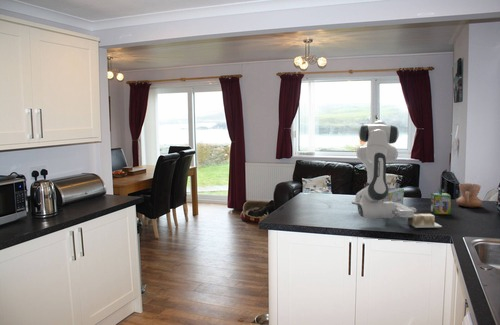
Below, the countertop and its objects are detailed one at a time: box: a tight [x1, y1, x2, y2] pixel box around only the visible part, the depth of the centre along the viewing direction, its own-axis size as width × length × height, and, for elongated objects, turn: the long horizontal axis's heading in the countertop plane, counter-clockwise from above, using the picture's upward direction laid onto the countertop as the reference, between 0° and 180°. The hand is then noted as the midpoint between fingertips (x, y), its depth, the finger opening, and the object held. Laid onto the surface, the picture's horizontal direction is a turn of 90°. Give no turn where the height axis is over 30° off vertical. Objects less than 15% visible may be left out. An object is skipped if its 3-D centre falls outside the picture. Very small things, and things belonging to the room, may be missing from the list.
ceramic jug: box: [456, 182, 483, 209], centre depth 257 cm, size 18×14×14 cm
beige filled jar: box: [407, 213, 436, 226], centre depth 213 cm, size 5×5×12 cm
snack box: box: [382, 187, 405, 220], centre depth 236 cm, size 21×6×15 cm, turn 138°
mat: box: [411, 222, 443, 229], centre depth 213 cm, size 14×9×1 cm, turn 91°
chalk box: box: [430, 187, 452, 215], centre depth 240 cm, size 9×9×15 cm
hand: (415, 209), depth 212 cm, fingers closed
